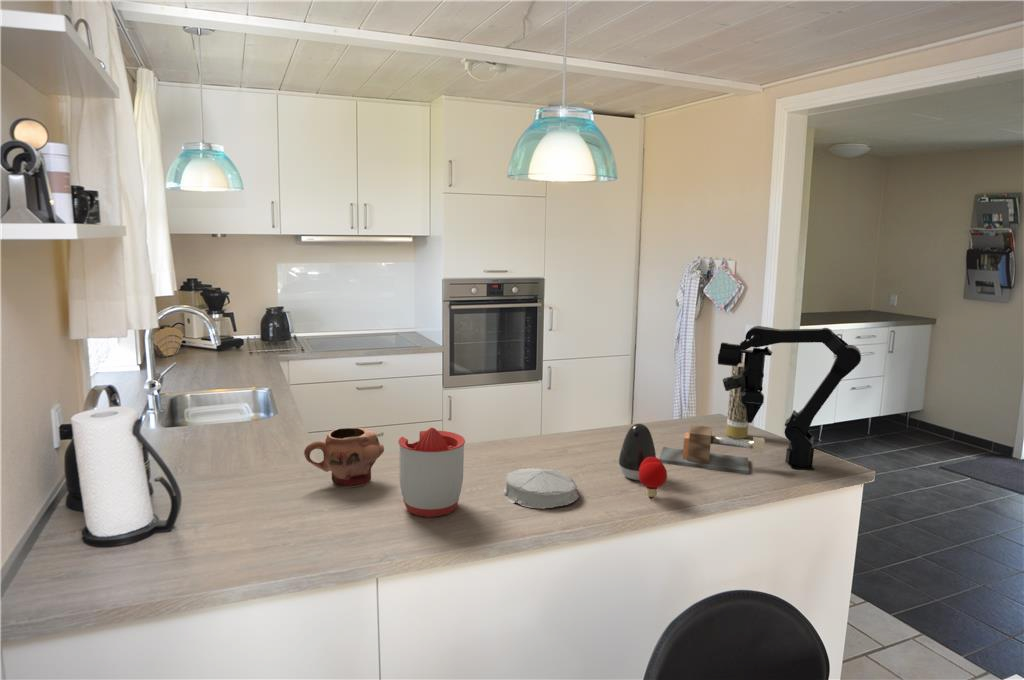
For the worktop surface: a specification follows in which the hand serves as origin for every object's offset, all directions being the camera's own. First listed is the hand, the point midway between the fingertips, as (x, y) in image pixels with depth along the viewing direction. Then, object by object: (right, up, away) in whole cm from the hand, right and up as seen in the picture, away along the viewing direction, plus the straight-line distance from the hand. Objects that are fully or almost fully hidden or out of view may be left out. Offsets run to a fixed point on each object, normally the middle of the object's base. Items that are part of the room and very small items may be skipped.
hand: (749, 418), depth 202 cm
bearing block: (-15, -12, -4) cm, 20 cm away
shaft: (-8, -8, -7) cm, 13 cm away
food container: (-64, -16, -31) cm, 73 cm away
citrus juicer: (-92, -16, -42) cm, 102 cm away
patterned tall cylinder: (+4, -9, +23) cm, 25 cm away
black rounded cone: (-38, -14, -18) cm, 44 cm away
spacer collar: (-20, -11, -2) cm, 23 cm away
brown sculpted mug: (-115, -14, -29) cm, 120 cm away
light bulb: (-36, -17, -32) cm, 51 cm away
